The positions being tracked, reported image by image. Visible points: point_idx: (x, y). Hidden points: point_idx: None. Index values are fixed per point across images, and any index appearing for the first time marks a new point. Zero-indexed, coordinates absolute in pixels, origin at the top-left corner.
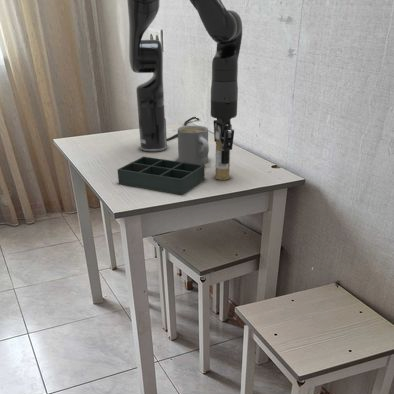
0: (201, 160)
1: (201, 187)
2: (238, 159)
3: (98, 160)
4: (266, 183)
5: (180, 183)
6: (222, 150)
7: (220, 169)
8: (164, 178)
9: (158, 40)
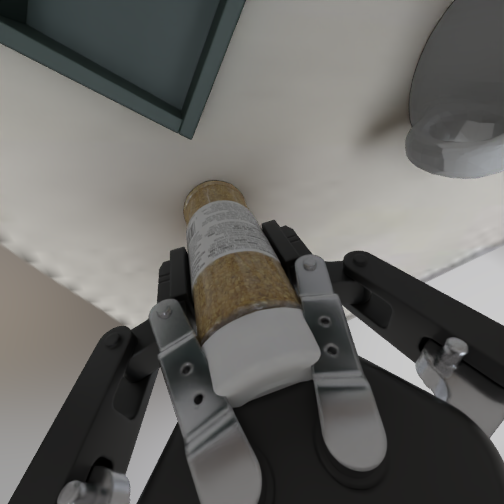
0: (422, 116)
1: (42, 99)
2: (397, 250)
3: None
4: None
5: None
6: (151, 310)
7: (188, 223)
8: None
9: None
